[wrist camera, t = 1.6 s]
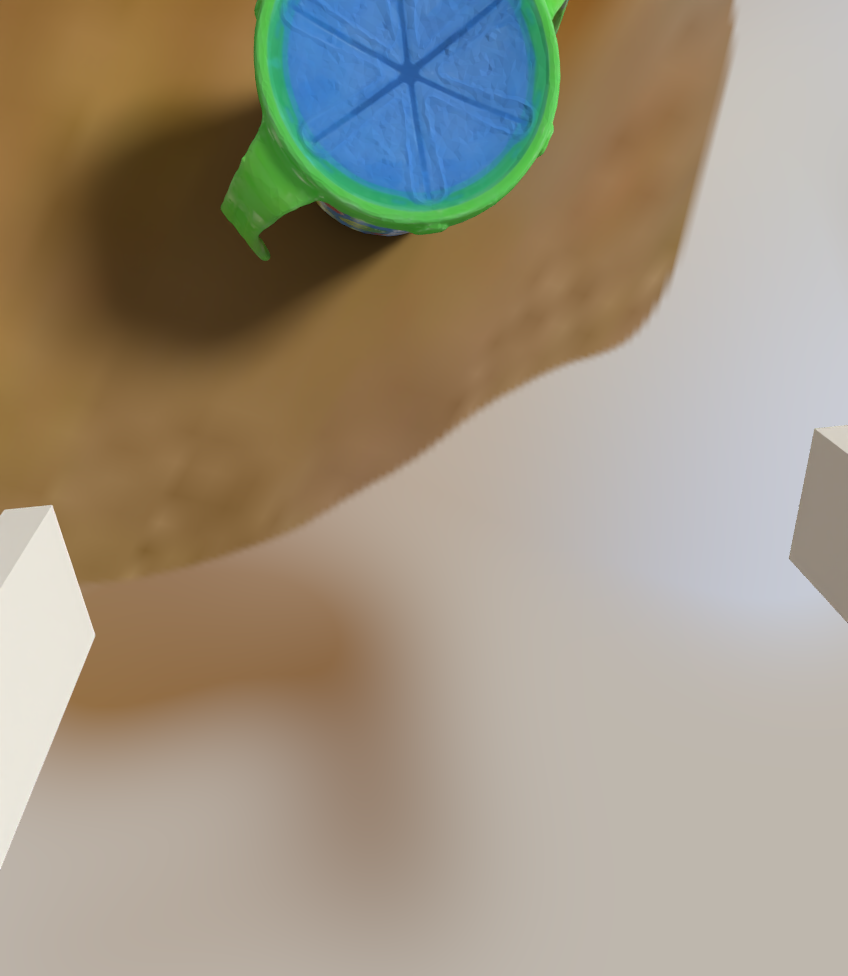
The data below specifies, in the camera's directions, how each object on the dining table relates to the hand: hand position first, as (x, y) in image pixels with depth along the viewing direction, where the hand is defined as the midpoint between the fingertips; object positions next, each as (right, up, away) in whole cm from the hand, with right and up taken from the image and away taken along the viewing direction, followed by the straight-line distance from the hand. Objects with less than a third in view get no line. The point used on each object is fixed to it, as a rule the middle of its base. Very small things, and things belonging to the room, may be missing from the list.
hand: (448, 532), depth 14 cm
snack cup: (-3, +16, +23) cm, 28 cm away
